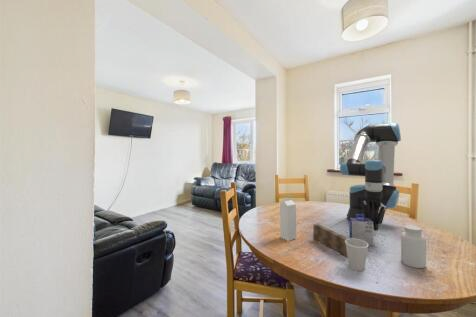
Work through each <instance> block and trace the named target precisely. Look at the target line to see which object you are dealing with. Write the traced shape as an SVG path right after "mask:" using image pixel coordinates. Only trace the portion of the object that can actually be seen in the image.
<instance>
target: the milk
mask: <svg viewBox="0 0 476 317" xmlns="http://www.w3.org/2000/svg"><path fill="white" fill-rule="evenodd" d="M279 216H280V218H279V219H280V220H279V222H280V225H279V227H280V231H279V232H280V239H282V238H283V239H282V240H284V239H285V241H286V240H287V241H286V242H290V240H291V241H293V239H294V240H297V205H296V203H295V202H294V201H293V197H286V198H283V201H282V202H280V203H279Z"/></svg>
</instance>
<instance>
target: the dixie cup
mask: <svg viewBox="0 0 476 317" xmlns="http://www.w3.org/2000/svg"><path fill="white" fill-rule="evenodd" d="M345 243H346V250H347V257H348V258H347V263H348V264H347V265H348V267H349V268H350V269H352V270H354V271H359V272H360V271H361V272H362V271H365V270H366V263H367V262H366V261H367V255H368V248H369V245H368V243H367V242H365V241H363V240H360V239H354V238H350V239H346V240H345Z"/></svg>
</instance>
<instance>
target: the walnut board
mask: <svg viewBox="0 0 476 317" xmlns="http://www.w3.org/2000/svg"><path fill="white" fill-rule="evenodd" d="M312 225H313V228H312V229H313V231H312V232H313V234H312V235H313V240H314V239H315V240H314V241H316V242H317V243H319V242H320V243H319V244H321V245H322V246H324V245H325V247H326V248H328V249H330V250H331V249H332V251H333V252H335V253H337V254H338V253H339V254H338V255H340V256H342V257H344V258H345V259H348V257H347V250H346V243H345V240H346V239H349V237H346V236H344V235H342V234H340V233H338V232H336V231H334V230H331V229H330V228H327V227H325V226H324V225H321V224H319V223H314V224H312Z"/></svg>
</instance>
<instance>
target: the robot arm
mask: <svg viewBox="0 0 476 317" xmlns="http://www.w3.org/2000/svg"><path fill="white" fill-rule="evenodd" d="M401 137H402V136H401V129H400V126H399V123H396V122H391V123H379V124H378V123H377V124H368V125H366V126H363V127H362V128H361V129H360V130H358V131H357V133H355V135H354V138H353V141H354V142H353V144H352V147H351V151H350V152H349V155H348V158H347V161H346V162H343V161H342V162H341V163H340V165H339V166H340V167H339V171H340V174H341V175H343V176H357V177H358V176H359V177H364V184H354V185H351V186H350V187H349V208H348V211H347V213H346V219H347V220H348V221H349V218H356V214H364V218H369V219H371V220H372V221H373V238H374V237H377V236H378V235H377V234H378V232H377V231H378V230H379V225H382V224H383V222H384V216H385V214H386V210H387V209H395V208H396V207H397V205H398V202H399V197H400V190H399V189H397V186H396V185H395V184H394V181H395V180H394V175H395V173H394V172H395V152H396V150H395V148H396V147H397V145H398V144H399V142H401V140H402V138H401ZM370 143H375V145H376V146H378V153H377V154H378V155H377V159H367V160H365V162H363V158H364V156H365V152H366V149H367V146H368V145H369V144H370ZM357 217H363V216H361V215H359V216H357Z"/></svg>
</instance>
